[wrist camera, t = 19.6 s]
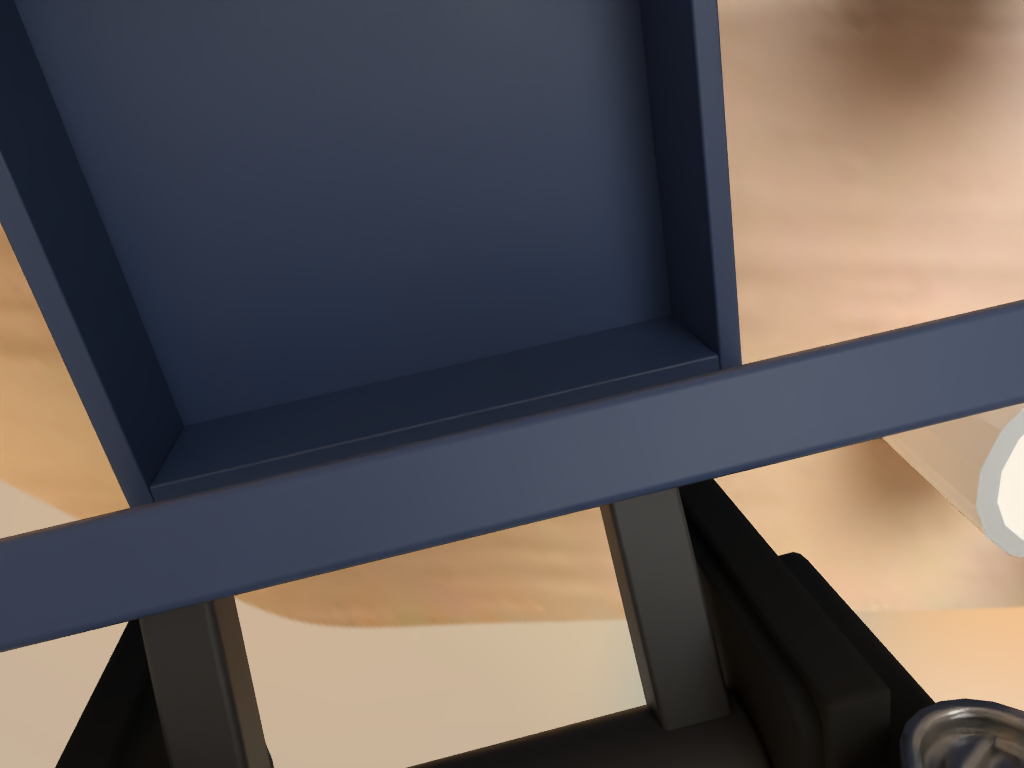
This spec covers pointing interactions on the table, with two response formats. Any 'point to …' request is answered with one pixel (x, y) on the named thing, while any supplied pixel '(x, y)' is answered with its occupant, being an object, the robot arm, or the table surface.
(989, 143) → the table surface
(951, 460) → the white short cylinder
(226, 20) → the blue shallow open box
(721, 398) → the lid
